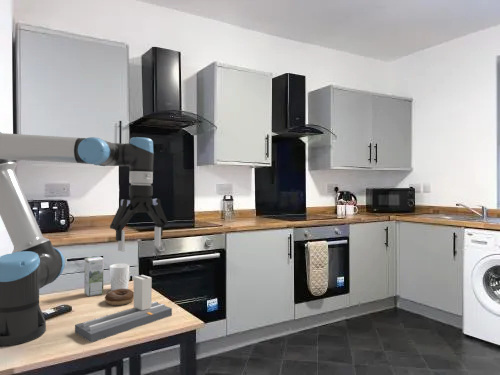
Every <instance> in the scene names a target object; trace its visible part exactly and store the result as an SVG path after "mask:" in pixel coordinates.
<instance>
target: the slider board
mask: <svg viewBox="0 0 500 375" xmlns="http://www.w3.org/2000/svg"><path fill="white" fill-rule="evenodd" d="M172 314H173V308H172V307H171V306H170V307H169V306H167V305H166V304H164V303H159V301H157V300H155V301H151V308H149V309H145V310H141V311H136V308H135V307H134V306H133V307H131V308H127V309H125V310H121V311H117V312H114V313H110V314H106V315H104V316H100V317H97V318H94V319H89V320H87V321H83V322H80V323H76V324H75V325H74V334H76V335H78V336H79V337H82V338H83V339H85V340H87V341H88V342H90V343H94V342H97V341H101V340H103V339H107V338H109V337H111V336H115V335H118V334H121V333H124V332H127V331H130V330H132V329H135V328H138V327H141V326H145V325H147V324H151V323H153V322H154V323H155V322H156V321H159V320H162V319H165V318H168V317H170V316H172Z"/></svg>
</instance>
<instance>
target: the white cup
mask: <svg viewBox="0 0 500 375" xmlns="http://www.w3.org/2000/svg"><path fill="white" fill-rule="evenodd" d="M130 266H131V265H130V264H129V263H125V262H124V263H122V262H121V263H113V264H110V265H109V280H110V282H109V283H110V291H113V290H116V289H129V280H130Z"/></svg>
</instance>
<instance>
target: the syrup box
mask: <svg viewBox="0 0 500 375" xmlns="http://www.w3.org/2000/svg"><path fill="white" fill-rule="evenodd" d="M104 262H105V259H104V258H103V257H102V256H90V257H84V291H83V292H84V294H85V295H86V296H88V297H93V296H99V295H104V271H105V270H104Z"/></svg>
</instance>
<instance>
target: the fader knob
mask: <svg viewBox="0 0 500 375" xmlns="http://www.w3.org/2000/svg"><path fill="white" fill-rule="evenodd" d="M152 278H153V277H151V276H147V275H144V274H141V275H140V274H138V275H137V276H133V292H134V299H133V307H135V308H136V311H141V310H145V309H149V308H151V303H152V285H153V284H152V283H153V282H152V280H153V279H152Z"/></svg>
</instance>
